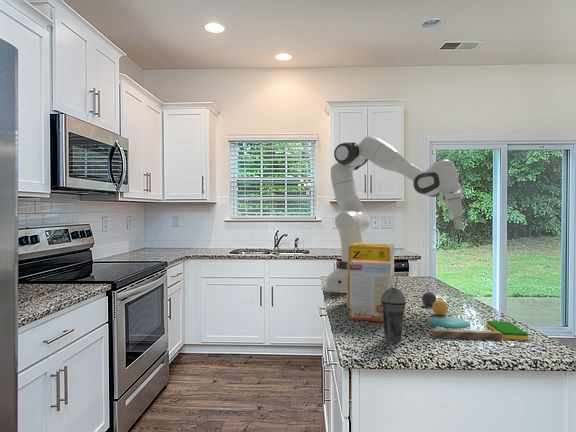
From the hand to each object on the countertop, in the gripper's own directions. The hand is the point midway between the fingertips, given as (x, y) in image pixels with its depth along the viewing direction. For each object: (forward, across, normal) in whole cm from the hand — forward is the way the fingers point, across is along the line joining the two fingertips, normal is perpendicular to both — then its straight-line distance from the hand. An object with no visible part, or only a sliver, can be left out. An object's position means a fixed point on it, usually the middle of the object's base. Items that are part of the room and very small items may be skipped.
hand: (459, 228), depth 165 cm
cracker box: (+27, +33, -38) cm, 58 cm away
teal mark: (+32, +28, -13) cm, 44 cm away
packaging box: (+25, +12, -40) cm, 49 cm away
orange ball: (+28, +18, -14) cm, 36 cm away
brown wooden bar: (+34, +44, -9) cm, 56 cm away
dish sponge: (+37, +34, +4) cm, 50 cm away
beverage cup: (+30, +55, -30) cm, 69 cm away
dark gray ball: (+26, +4, -18) cm, 32 cm away
